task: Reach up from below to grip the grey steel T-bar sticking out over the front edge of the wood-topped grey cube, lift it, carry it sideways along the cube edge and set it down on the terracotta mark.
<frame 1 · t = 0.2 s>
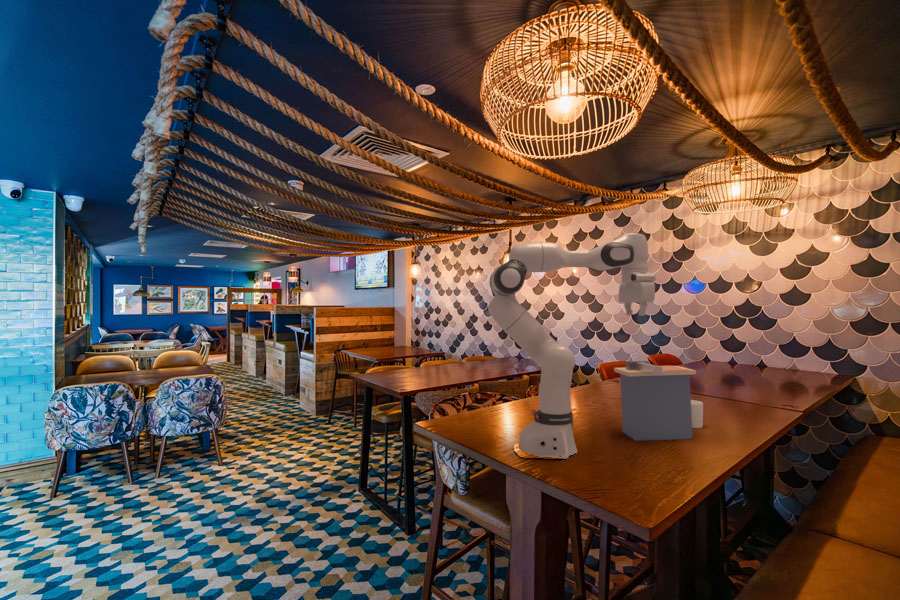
hand: (635, 315, 137), 48 cm above the table, tool pointing down, fingers open, 8 cm apart
wood-topped grey cube: (656, 435, 147), on the table
steel T-bar: (646, 371, 142), point 26 cm above the table, touching wood-topped grey cube
white cup: (693, 426, 158), on the table
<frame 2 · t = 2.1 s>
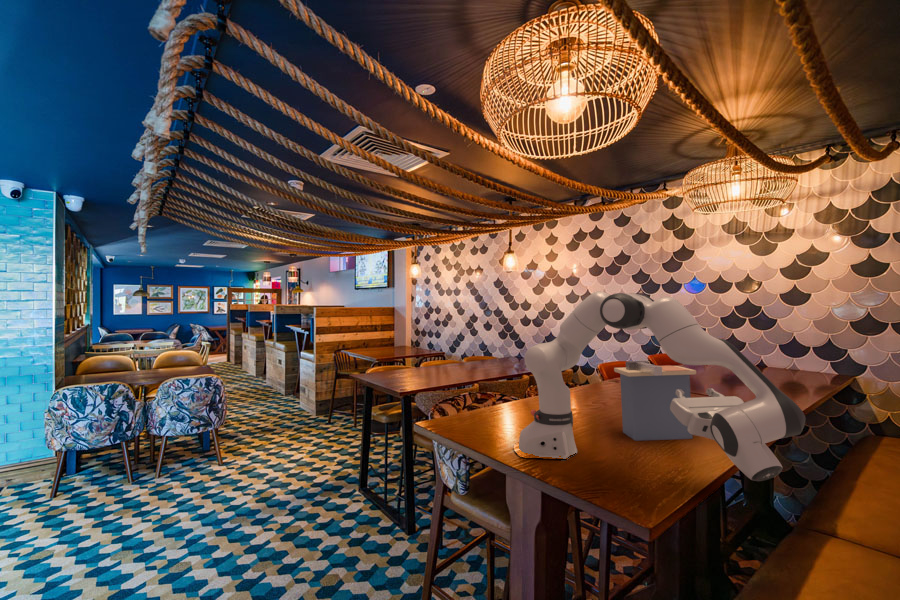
hand: (693, 390, 115), 25 cm above the table, tool pointing upward, fingers open, 8 cm apart
nothing on the table moved.
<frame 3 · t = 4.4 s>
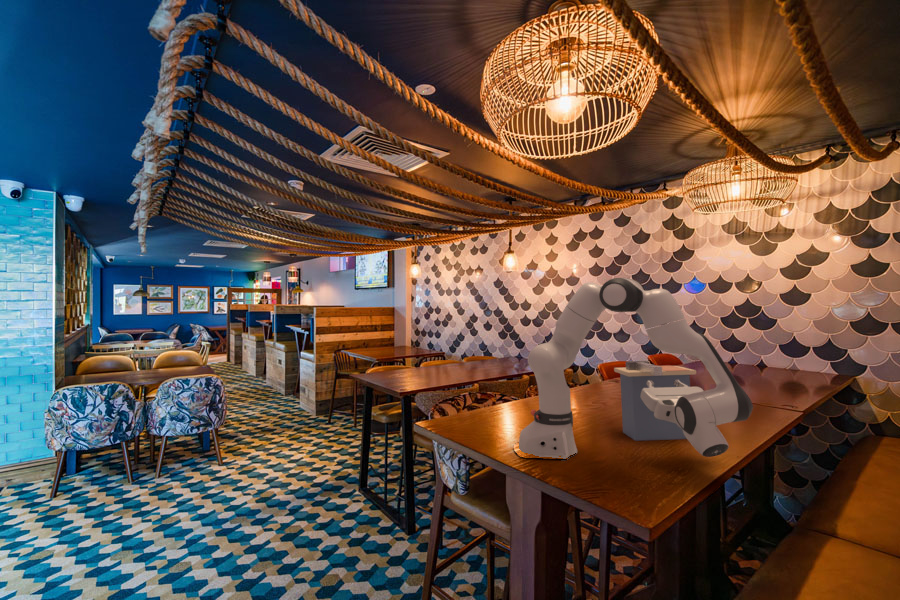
hand: (662, 381, 132), 24 cm above the table, tool pointing upward, fingers open, 8 cm apart
nothing on the table moved.
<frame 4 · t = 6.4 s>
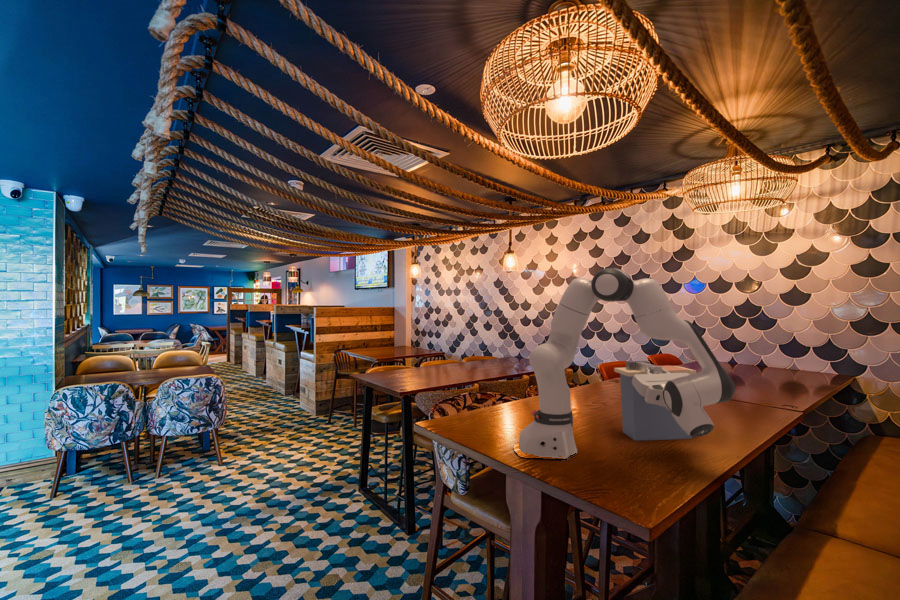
hand: (652, 368, 137), 28 cm above the table, tool pointing upward, fingers closed on steel T-bar, 3 cm apart
steel T-bar: (646, 371, 142), point 26 cm above the table, touching gripper, wood-topped grey cube
everything else where it was.
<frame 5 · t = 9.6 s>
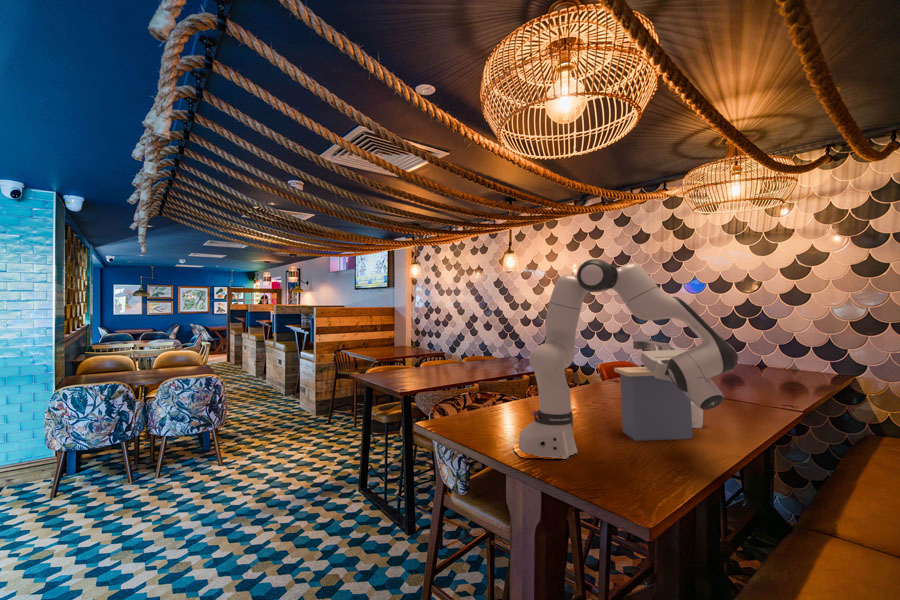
hand: (661, 346, 138), 36 cm above the table, tool pointing upward, fingers closed on steel T-bar, 3 cm apart
steel T-bar: (654, 350, 142), point 34 cm above the table, touching gripper
everything else where it was.
when the fingers open (29 cm above the table, at t = 12.9 s): steel T-bar drops 1 cm, resting on wood-topped grey cube.
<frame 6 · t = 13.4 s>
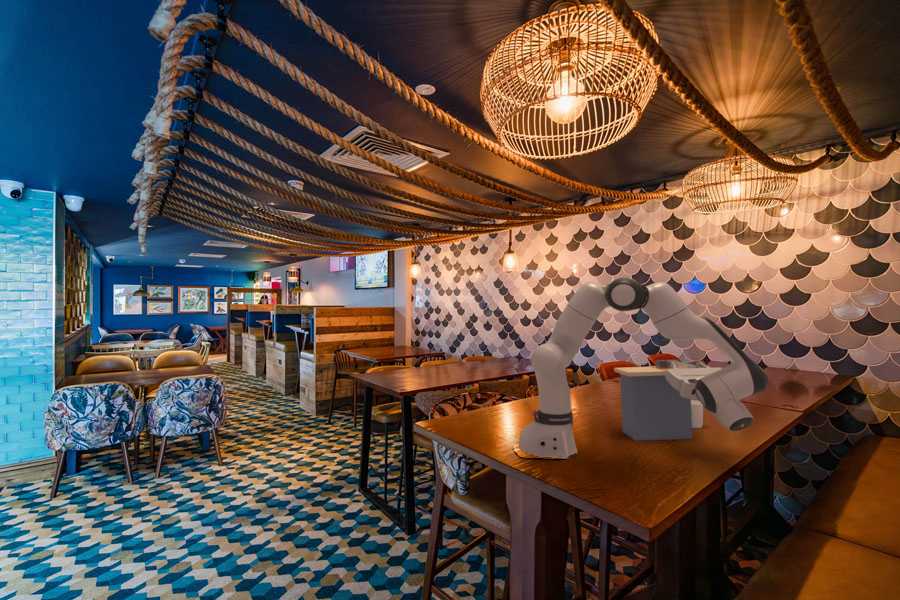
hand: (685, 363, 138), 29 cm above the table, tool pointing upward, fingers open, 8 cm apart
steel T-bar: (678, 370, 142), point 26 cm above the table, touching wood-topped grey cube
everything else where it was.
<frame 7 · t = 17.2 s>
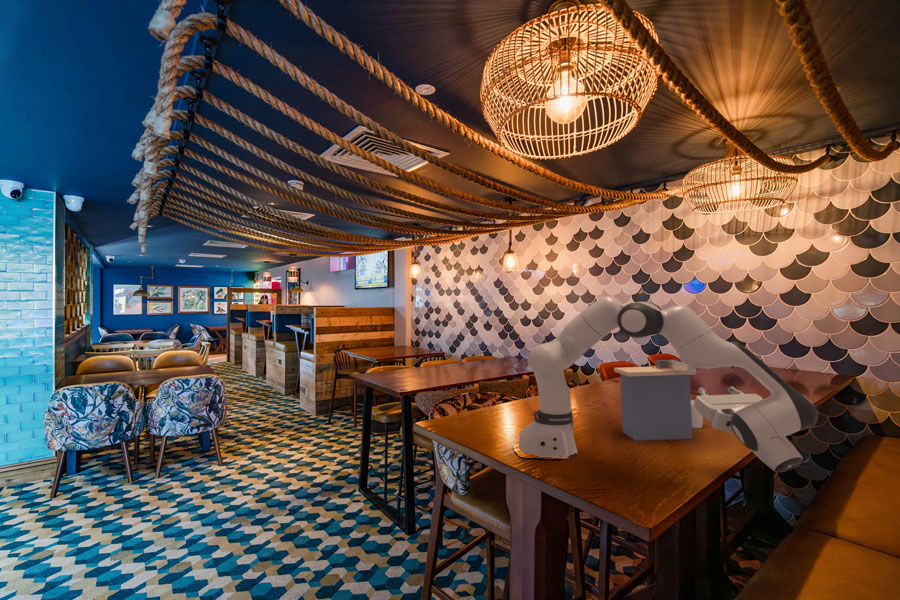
hand: (714, 388, 123), 23 cm above the table, tool pointing upward, fingers open, 8 cm apart
nothing on the table moved.
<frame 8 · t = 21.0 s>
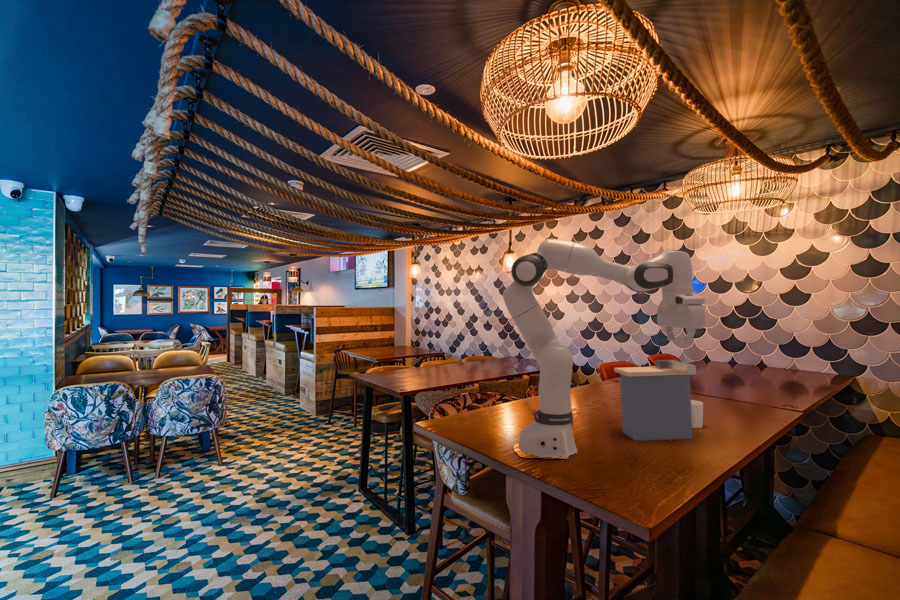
hand: (679, 341, 123), 39 cm above the table, tool pointing down, fingers open, 8 cm apart
nothing on the table moved.
at the end: steel T-bar inside the target area (0.1 cm from its centre), point 26.2 cm above the table; steel T-bar tilted 0°; the gripper is holding nothing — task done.
